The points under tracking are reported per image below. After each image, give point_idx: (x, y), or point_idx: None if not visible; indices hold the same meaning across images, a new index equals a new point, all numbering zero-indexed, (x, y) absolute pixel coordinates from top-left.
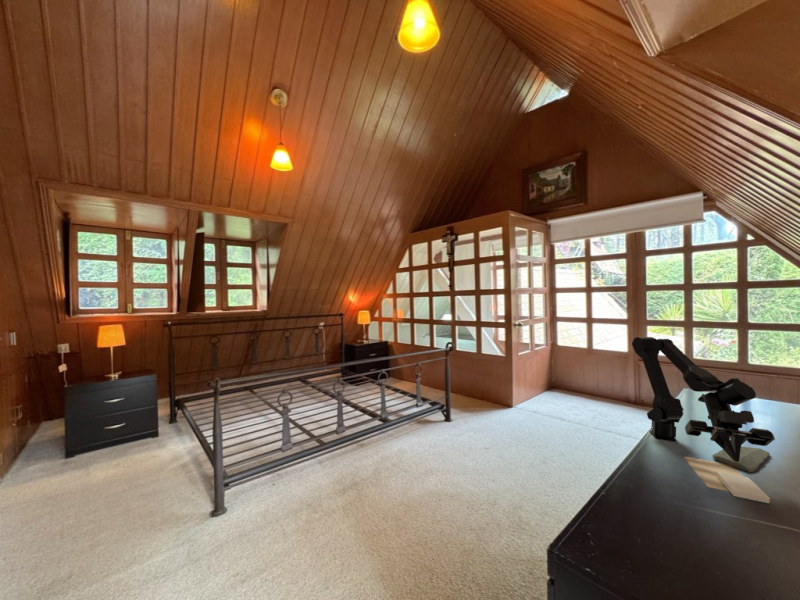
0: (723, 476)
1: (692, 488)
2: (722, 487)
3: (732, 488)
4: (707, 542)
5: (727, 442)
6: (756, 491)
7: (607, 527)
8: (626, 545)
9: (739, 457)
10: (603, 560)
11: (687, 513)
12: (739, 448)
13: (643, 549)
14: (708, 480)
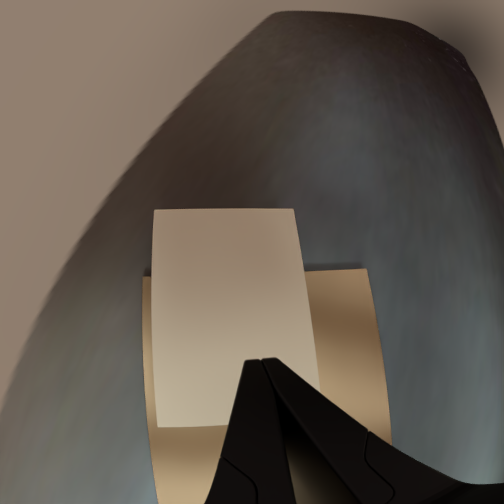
0: (302, 361)
1: (405, 240)
2: (309, 296)
3: (294, 228)
4: (363, 55)
5: (403, 484)
6: (186, 249)
7: (460, 76)
8: (434, 54)
9: (240, 380)
10: (437, 43)
11: (400, 111)
12: (232, 466)
13: (420, 49)
14: (354, 341)
